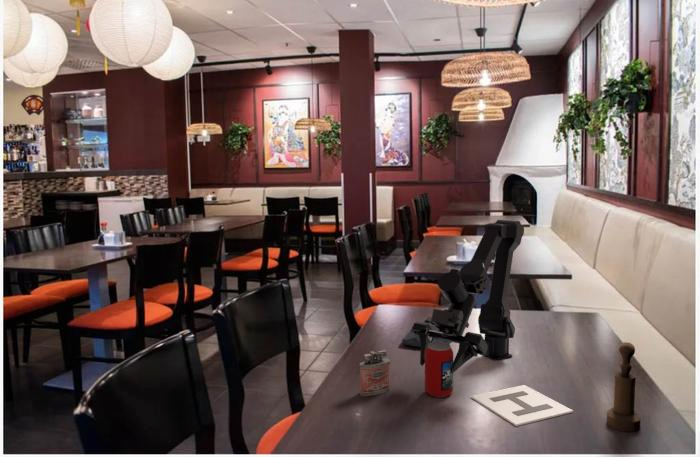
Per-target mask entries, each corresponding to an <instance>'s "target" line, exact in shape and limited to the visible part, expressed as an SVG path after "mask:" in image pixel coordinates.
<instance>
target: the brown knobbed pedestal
mask: <svg viewBox="0 0 700 457" xmlns="http://www.w3.org/2000/svg"><path fill="white" fill-rule="evenodd" d="M618 351H619V354H620V355H621V357H622V361H621V362H619V366H620V370H621V371H617V372H615V373H614V394H613V396H614V397H613V407H611V408H610V409H608V410H607V412H606V424H607V425H608V426H609V427H610V428H612V429H614V430H617V431H619V432H625V433H632V432H638V431H640V429H641V418H642V417H641V415H639V414H638V413H637V412H636V410H635V401H636V400H635V399H636V397H635V396H636V381H637V377H636V376H637V375H636V374H634V373H632V372H631V371H632V367H633V364H632V363H631V359H632V357H633V356H634V354H636V348H635V346H634V344H632V343H631V342H626V341H625V342H622V343H620V345H619V347H618Z"/></svg>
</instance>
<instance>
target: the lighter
mask: <svg viewBox="0 0 700 457" xmlns="http://www.w3.org/2000/svg"><path fill="white" fill-rule="evenodd" d="M387 356H388V351H387V350H386V349H384V350H379V351H377V352H375V351H373V350H372V351H369V353H366V354H363V359H364V361H362V362H360V363H359V368H360V388H359V395H360V396H363V397H368V396H375V395H380V394H383V393H386V392H390V390H391V386H390V364H391V360H390V359H389V358H385V357H387Z"/></svg>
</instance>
